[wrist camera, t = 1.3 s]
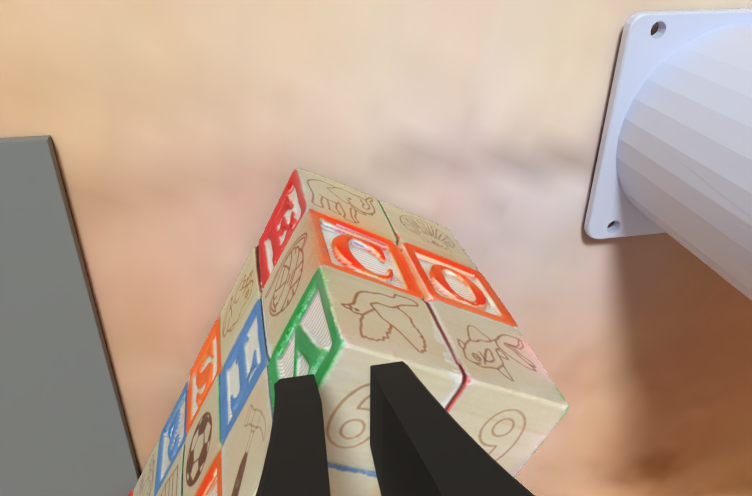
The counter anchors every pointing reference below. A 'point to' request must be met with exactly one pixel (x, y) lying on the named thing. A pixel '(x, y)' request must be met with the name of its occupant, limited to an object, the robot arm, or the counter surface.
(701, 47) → the robot arm
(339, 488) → the stack of blocks
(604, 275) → the counter surface
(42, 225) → the mat
